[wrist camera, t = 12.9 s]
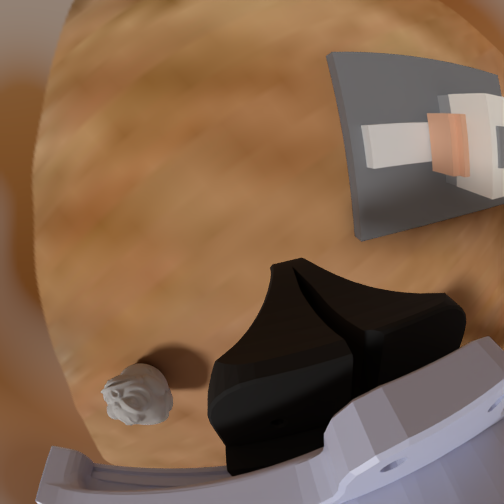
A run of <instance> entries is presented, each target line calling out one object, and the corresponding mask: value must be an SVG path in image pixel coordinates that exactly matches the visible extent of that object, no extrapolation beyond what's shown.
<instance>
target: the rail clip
mask: <svg viewBox="0 0 504 504" xmlns="http://www.w3.org/2000/svg"><path fill="white" fill-rule="evenodd" d="M427 119H428V126H429V134H430V143H431V154H432V168H433V171H435V172H439V173H442V174H446V175H449V176H453V177H454V176H462V177H470V161H469V145H468V133H467V124H466V116H465V114H451V113H427Z"/></svg>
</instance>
